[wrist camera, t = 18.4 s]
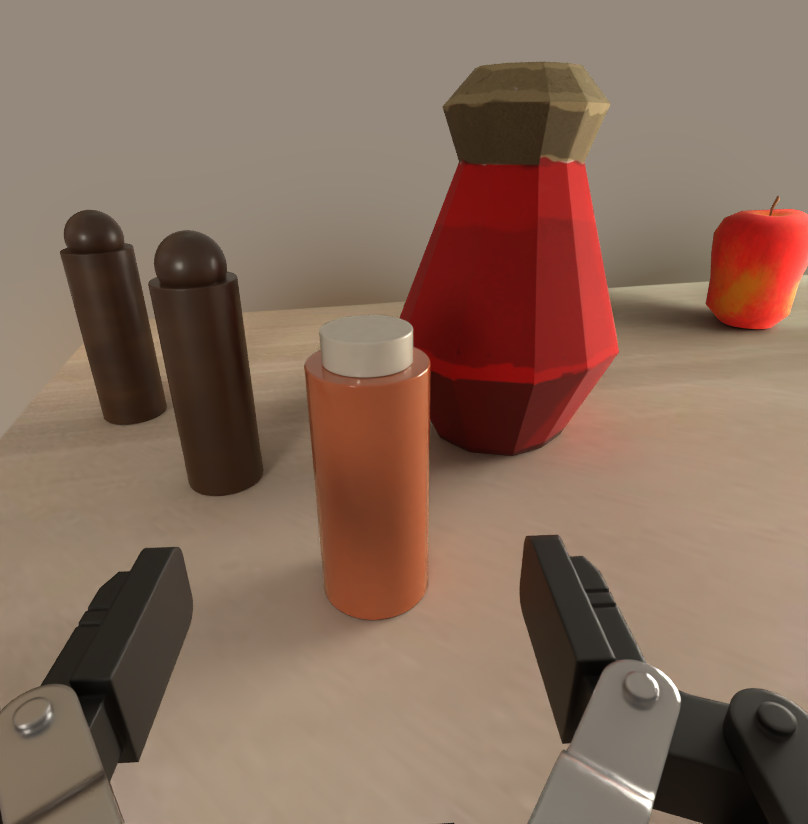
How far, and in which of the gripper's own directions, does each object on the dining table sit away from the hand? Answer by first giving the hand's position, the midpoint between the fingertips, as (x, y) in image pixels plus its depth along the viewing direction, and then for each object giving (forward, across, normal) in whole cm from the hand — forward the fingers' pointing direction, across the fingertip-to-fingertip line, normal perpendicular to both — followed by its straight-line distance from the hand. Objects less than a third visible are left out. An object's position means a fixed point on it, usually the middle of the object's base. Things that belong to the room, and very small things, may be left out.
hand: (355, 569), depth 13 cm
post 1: (+26, +16, +8) cm, 32 cm away
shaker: (+8, 0, +8) cm, 11 cm away
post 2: (+17, +8, +8) cm, 21 cm away
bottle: (+23, -8, +8) cm, 26 cm away
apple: (+43, -36, +8) cm, 57 cm away
